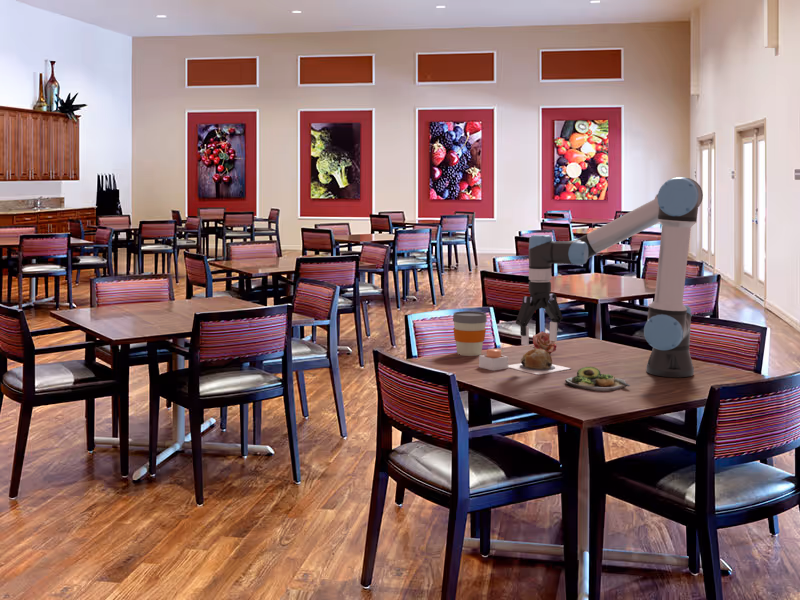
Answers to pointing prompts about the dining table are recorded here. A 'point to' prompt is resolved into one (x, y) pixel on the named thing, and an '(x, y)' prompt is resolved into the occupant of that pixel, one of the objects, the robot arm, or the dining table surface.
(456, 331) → the reusable coffee cup
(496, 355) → the button
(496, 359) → the button housing
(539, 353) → the bread roll
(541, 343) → the flower
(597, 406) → the dining table surface
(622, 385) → the salad plate
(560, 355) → the dining table surface
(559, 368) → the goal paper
